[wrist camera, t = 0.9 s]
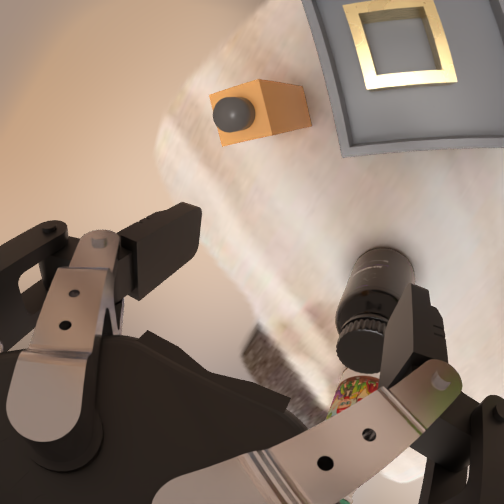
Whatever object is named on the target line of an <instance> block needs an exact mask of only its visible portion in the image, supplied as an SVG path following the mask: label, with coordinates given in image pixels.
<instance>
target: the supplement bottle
mask: <svg viewBox="0 0 504 504" xmlns="http://www.w3.org/2000/svg"><path fill="white" fill-rule="evenodd" d="M409 283H412V284H414V285H415V277H414V271H413V268H412V265H411V264H410V262H409V261H408V259H407V258H406V257H405V256H404V255H402V254H401V253H399V252H397V251H395V250H392V249H388V248H377V249H373V250H370V251H368V252H366V253H365V254H363V255H362V256H361V257H360V258H359V259H358V260H357V262H356V263H355V265H354V268H353V270H352V272H351V275H350V278H349V280H348V283H347V285H346V288H345V291H344V293H343V296H342V298H341V301H340V303H339V305H338V308H337V311H336V316H335V324H336V328H337V331H338V334H339V339H338V342H337V345H336V348H337V350H336V352H337V356H338V357H339V360H340V361H341V362H342V364H344V365H345V366H346V367H347V368H349V369H350V370H353V371H355V372H359V373H364V374H374V373H379V372H380V370H381V362H382V354H383V346H384V336H385V330H386V327H387V324H388V321H389V319H390V317H391V315H392V313H393V311H394V309H395V307H396V306H397V304H398V302H399V300H400V298H401V296H402V294H403V292H404V290H405V288H406V286H407V285H408V284H409Z"/></svg>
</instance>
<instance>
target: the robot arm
mask: <svg viewBox="0 0 504 504" xmlns="http://www.w3.org/2000/svg"><path fill="white" fill-rule="evenodd" d="M201 218H202V211H201V208H200V207H197V206H194V205H191V204H188V203H185V202H181V203H179V204H177V205H175V206H173V207H171V208H169V209H167V210H164V211H159V212H155V213H153V214H152V215H150V216H147V217H146V218H144V219H142V220H140V221H139V222H136V223H134V224H132V225H130V226H129V227H127V228H125V229H123V230H121V231H119V232H118V233H115V232H113V231H110V230H95V231H91V232H88V233H86V234H84V235H83V236H82V237H81V239H79V238H74V237H70V236H68V229H67V225H66V223H64V222H62V221H57V220H53V221H47V222H43V223H41V224H39V225H37V226H35V227H33V228H32V229H29V230H27V231H26V232H24V233H22V234H20V235H18V236H17V237H15V238H13V239H11V240H9V241H8V242H6V243H4V244H3V245H1V246H0V504H341V503H340V500H341V499H343V498H344V497H346V496H347V495H349V494H350V493H352V492H353V491H354V490H356V489H357V488H359V487H360V486H361V485H363V484H364V483H365V482H367V481H368V480H369V479H371V478H372V477H373V476H374V475H376V474H377V473H378V472H380V471H381V470H382V469H383V468H385V467H386V466H387V465H388V464H389V463H391V462H392V461H393V460H394V459H395V458H396V457H398V456H399V455H400V454H401V453H402V452H403V451H405V450H406V449H407V448H408V447H411V448H412V449H414V450H416V451H417V452H419V453H421V454H422V455H424V456H425V457H427V462H426V468H425V474H424V479H423V484H422V489H421V494H420V499H419V503H418V504H504V399H503V398H501V397H499V396H497V395H489V396H487V397H486V398H485V399H484V400H483V401H482V402H481V403H478V402H477V401H475V400H474V399H472V398H470V397H469V396H467V395H466V394H464V393H463V392H462V391H461V390H462V381H461V378H460V376H459V374H458V373H457V371H456V370H455V369H454V368H453V367H452V366H451V365H449V364H448V356H447V347H446V339H445V332H444V325H443V318H442V317H441V315H440V313H439V312H438V310H437V308H435V307H433V306H431V304H430V297H429V291H428V290H427V289H425V288H422V287H420V286H417V285H414V284H412V283H409V284H408V285H407V286H406V288H405V290H404V292H403V294H402V296H401V298H400V300H399V302H398V304H397V306H396V307H395V309H394V311H393V313H392V315H391V317H390V319H389V321H388V324H387V327H386V330H385V336H384V346H383V354H382V362H381V370H380V377H379V384H378V389H377V390H376V391H374V392H373V393H371V394H370V395H368V396H366V397H365V398H363V399H362V400H360V401H358V402H357V403H355V404H353V405H352V406H350V407H348V408H347V409H345V410H343V411H342V412H340V413H338V414H336V415H335V416H333V417H331V418H329V419H327V420H326V421H324V422H322V423H320V424H318V425H316V426H314V427H312V428H311V429H309V430H308V428H307V427H306V426H305V425H304V424H303V423H302V422H301V421H300V420H299V419H298V418H297V417H296V416H295V415H294V414H292V413H291V412H290V411H288V410H287V409H286V408H287V406H288V403H289V401H290V399H291V398H289V397H287V396H284V395H282V394H279V393H277V392H275V391H272V390H270V389H267V388H265V387H263V386H260V385H258V384H256V383H253V382H249V381H245V380H240V379H236V378H231V377H227V376H223V375H219V374H215V373H211V372H209V371H207V370H206V369H204V368H203V367H202V366H201V365H200V364H198V363H197V362H196V361H195V360H193V359H192V358H191V357H190V356H189V355H188V354H186V353H185V352H184V351H183V350H182V349H181V348H179V347H178V346H176V345H174V344H172V343H170V342H169V341H167V340H165V339H163V338H161V337H159V336H157V335H156V334H154V333H152V332H150V331H148V330H147V331H146V332H145V333H144V334H143V335H142V336H141V337H140V338H135V337H130V336H123V335H122V323H123V312H124V297H125V296H126V295H129V296H131V297H133V298H135V299H136V300H138V301H140V300H141V299H142V298H144V297H145V296H146V295H147V294H148V293H150V292H151V291H152V290H153V289H154V288H156V287H157V286H158V285H160V284H161V283H162V282H163V281H164V280H166V279H167V278H168V277H169V276H171V275H172V274H173V273H174V272H176V271H177V270H178V269H179V268H181V267H182V266H183V265H184V264H186V263H187V262H188V261H189V260H191V259H192V258H193V257H194V255H195V253H196V252H197V249H198V245H199V237H200V227H201ZM37 263H39V268H40V272H41V276H42V279H41V280H40V281H38V282H37V283H35V284H34V285H33V286H31V287H30V288H28V289H27V290H26V291H25V292H23V293H22V294H21V293H20V290H19V287H18V281H19V278H20V276H21V275H22V274H23V273H24V272H25V271H27V270H28V269H30V268H31V267H33V266H34V265H36V264H37ZM34 328H35V330H34V333H33V336H32V339H31V342H30V345H29V347H28V348H27V349H21V350H15V351H8V350H9V349H10V348H12V347H13V346H14V345H15V344H16V343H17V342H18V341H20V340H21V339H22V338H23V337H24V336H25V335H27V334H28V333H29V332H30V331H31V330H32V329H34ZM7 351H8V352H7ZM469 465H470V467H469V478H468V481H467V480H466V479H467V469H468V466H469ZM466 481H467V484H466Z"/></svg>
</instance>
